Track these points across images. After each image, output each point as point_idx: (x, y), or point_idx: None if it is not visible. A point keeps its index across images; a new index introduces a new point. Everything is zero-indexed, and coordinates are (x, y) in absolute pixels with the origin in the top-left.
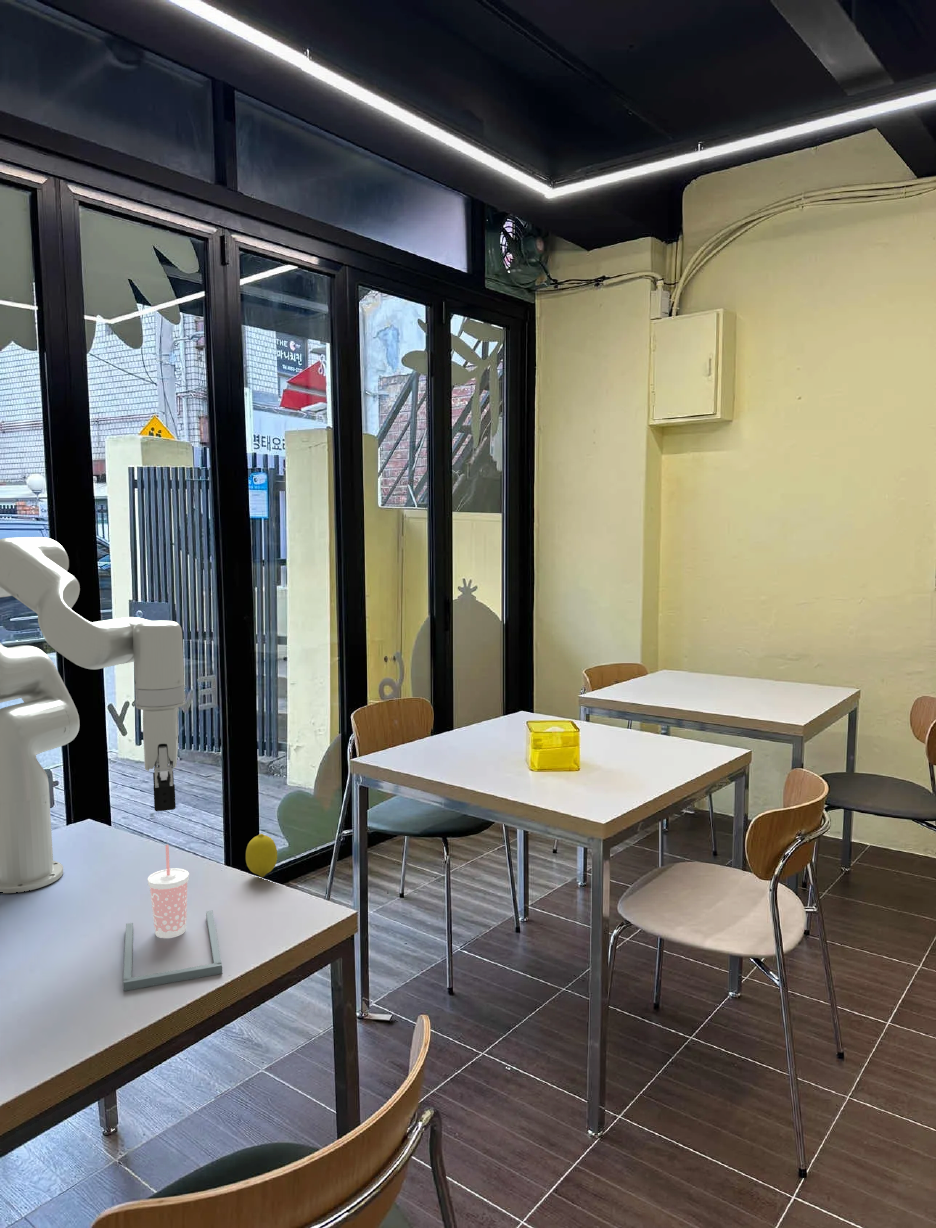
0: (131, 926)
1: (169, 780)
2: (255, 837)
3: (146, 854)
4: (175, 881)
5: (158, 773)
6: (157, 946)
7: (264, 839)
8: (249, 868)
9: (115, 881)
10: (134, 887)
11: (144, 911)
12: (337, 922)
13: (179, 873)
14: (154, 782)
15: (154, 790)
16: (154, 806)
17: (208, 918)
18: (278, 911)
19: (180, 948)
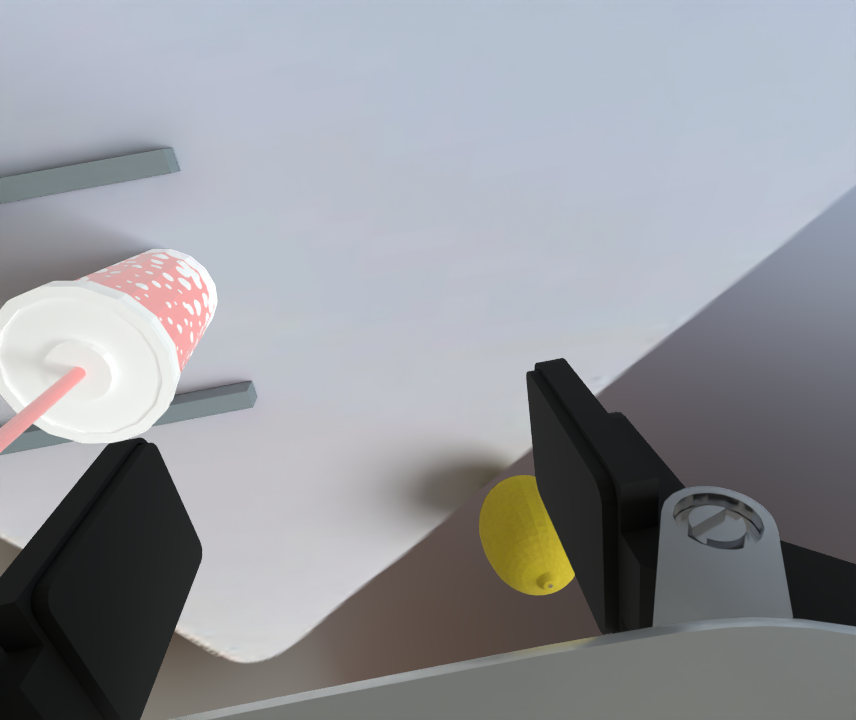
0: (139, 173)
1: (574, 552)
2: (547, 564)
3: (850, 95)
4: (25, 406)
5: (621, 528)
6: (65, 270)
7: (525, 586)
8: (502, 482)
9: (622, 10)
10: (540, 105)
11: (325, 182)
12: (210, 650)
13: (122, 405)
14: (566, 432)
15: (7, 582)
16: (93, 462)
17: (196, 404)
18: (281, 540)
19: None
